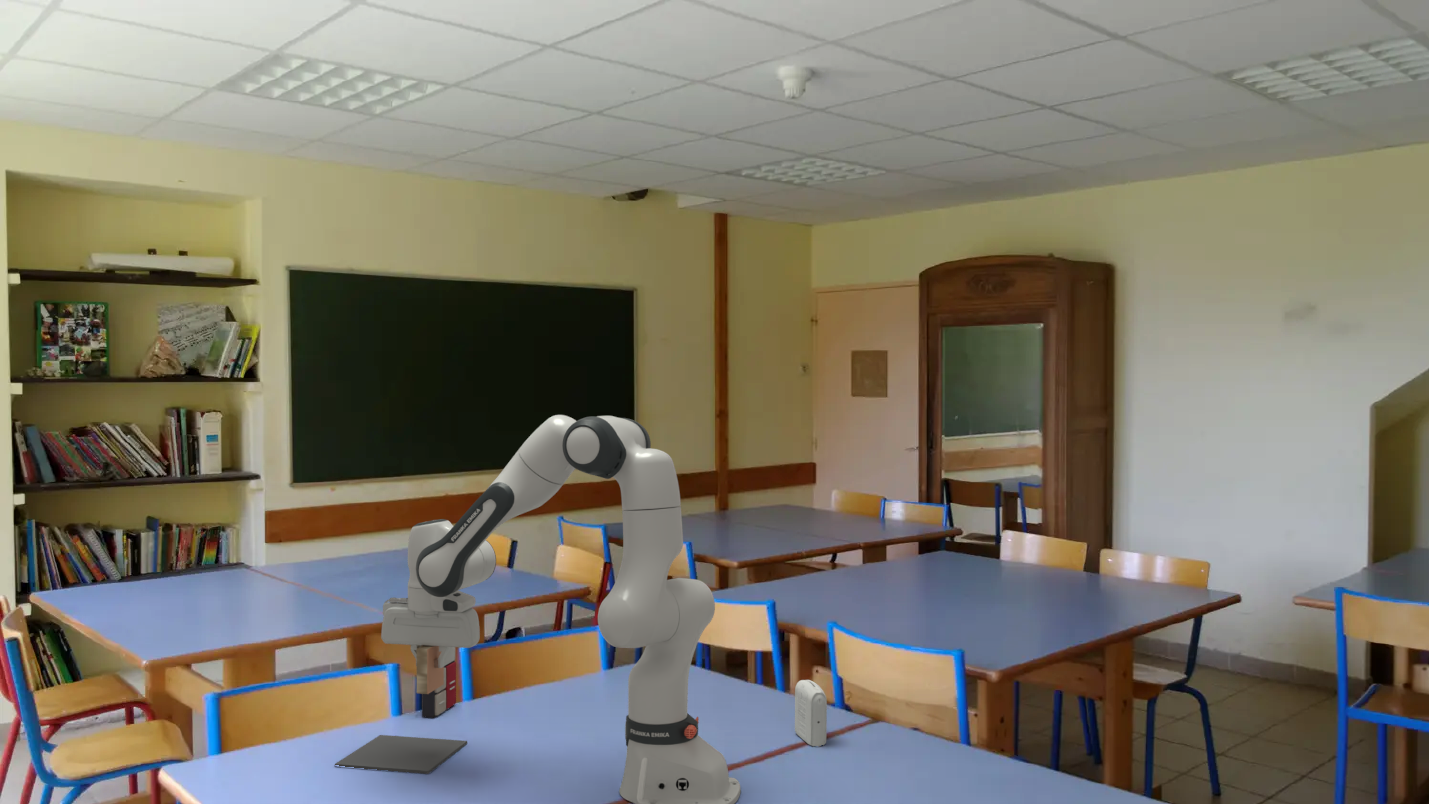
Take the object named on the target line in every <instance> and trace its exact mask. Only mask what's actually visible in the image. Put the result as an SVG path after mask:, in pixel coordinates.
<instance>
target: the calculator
mask: <svg viewBox="0 0 1429 804" xmlns="http://www.w3.org/2000/svg"><path fill="white" fill-rule="evenodd" d="M456 704H457V662H456V647H450V650H449V652H448V653H447V655H446V657H445V658H444V685H442V686H440V687H439V688H437V689H436V690H434V691H432V692H431V693H429V694H421V716H422V718H425V719H427V718H428V719H434V718H437V717H438V716H439V715H441V714H443V713H444V712H445V711H447V710H449V709H450V708H452V707H453V706H455V705H456ZM448 708H449V709H448Z"/></svg>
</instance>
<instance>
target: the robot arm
mask: <svg viewBox="0 0 1429 804" xmlns="http://www.w3.org/2000/svg"><path fill="white" fill-rule="evenodd" d="M529 435H530V436H528V438H527V439H526V440H525V441H524V442H523V443H522V445H521V446H520V447H519V448H518V450H517V451H516V452H515V454H514V455H513V456H512V457H511V459H510V460H509V462H508V463H507V464H506V465H505V467H504V468H503V469H502V470H501V472H499V474H498V476H497V477H496V478H495V479H494V480H493V481H492V482H491V484H490V485H489V486H488V487H487V489H485V491H484V492H483V493H482V494H481V495H480V496H479V497H478V498H477V499H476V500H475V501H474V502H473V503H472V505H471V506H470V507H469V508H468V509H467V510H466V511H465V513H463V515H462V516H461V517H460V518H459V520H458V521H456V523H455V524H454V525H453V524H452V522H451V521H449V520H448V519H445V518H441V519H433V520H428V521H423V522H418V523H416V524H414V525H413V526H412V528H411V529H410V533H409V537H408V543H407V568H408V570H409V577H408V578H409V579H408V581H407V597H399V598H398V597H390V598H388V599H387V600H385V601H384V603H383V605H382V616H383V619H382V624H381V631H380V632H381V635H380V638H381V640H382V642H383V643H384V644H386V645H389V644H391V645H407V646H410V651H411V654H412V655H413V657H414V658H415V667H416V668H417V648H419V647H421V646H423V645H424V646H439V652H441V651H442V652H441V654H440V656H439V657H438V658H436V659H434V668H442V667H444V658H445V657H446V655H447V653H448V652H449V650H450V647H455V648H464V649H465V648H466V649H470V648H473V647H474V646H476V645H478V643H479V641H480V637H481V636H480V635H481V633H480V632H481V631H480V630H481V629H480V621H479V615H478V613H477V611H476V609H474V608H473V607H475V606H476V597H475V596H473V595H472V594H468V593H466V592H463V591H461V590H463V589H466V588H469V587H472V586H474V585H478V584H481V583H482V582H484V581H486V580H488V579H490V578H491V577H492V575H493V574H494V572H495V569H496V566H497V556H496V552H495V549H494V547H493V546H492V544H491V543H490V542H489V541H488V540H487V539H488V538H489V537H490V536H491V535H492V533H493V532H494V531H495V530H497V528H499V527H500V526H501V525H504V523H506V522H507V521H509V520H511V519H514V518H516V517H517V516H519V515H523V514H525V513H527V512H528V513H529V512H530V511H533V510H535V509H538V508H539V507H542V506H543V505H544V504H545V503H547V502H548V501H549V500H550V499H551V498H553V496H555V495H556V493H558V492H559V490H560V489H561V488H562V486H563V485H564V484H565V482H566V481H568V479H569V478H570V477H571V475H572V473H573V472H574V471H575V470H577V471H579V472H581V473H584V474H587V475H590V476H595V477H599V478H602V479H606V480H609V479H611V478H613V479H615V480H616V482H617V484H618V485H619V488H620V497H621V509H622V510H621V513H622V533H623V534H622V537H623V539H622V540H623V541H622V542H623V545H622V546H623V547H622V548H623V549H622V558H621V563H620V568H619V570H618V572H617V573H618V574H617V577H616V579H615V581H614V585H613V586H612V588H611V590H610V591H609V593H608V594H607V596H605V598H604V599H603V600H602V602H601V603H600V605H599V608H598V612H597V613H598V614H597V625H598V628H599V631H600V632H599V633H600V634H601V636H602V637H603V639H604V640H605V641H606V642H607V643H608V644H609V645H610V646H612V647H615V648H622V649H623V648H625V649H626V648H627V649H640V648H643V647H645V648H644V650H643V652H642V654H641V656H640V658H639V660H638V661H637V662H636V663H635V665H634V666H633V667H632V668H631V670H630V671H629V675H628V680H627V681H628V682H627V685H628V689H627V690H628V691H627V692H628V693H627V695H628V698H627V699H628V702H627V703H628V705H627V706H628V707H627V708H628V711H627V712H628V713H627V714H626V716H625V722H624V723H625V726H624V737H625V745H626V756H625V757H626V758H625V765H624V771H623V776H622V779H621V780H622V781H621V784H620V787H619V791H618V792H619V795H620V796H621V797H622V798H623V799H624V800H627V801H629V802H631V803H633V804H736V802H737V801H738V800H739V798H740V796H741V791H742V790H741V789H742V788H741V784H740V782H739V780H738V779H737V778H735V777H731V776H730V774H729V770H728V764H727V760H726V758H725V756H724V755H723V753H722V752H721V751H719V750H717V749H716V748H715V747H714V746H713V745H711V744H710V743H708V742H707V741H706V740H705V739H703V738H702V737H701V736H700V735H699V723H700V722H699V721H700V720H699V716H697V717H695V718H694V717H693V716H692V715H691V714H689V713H688V702H689V700H688V698H689V697H688V695H689V677H690V675H689V674H690V670H691V664H692V660H693V657H694V654H695V651H696V648H697V645H698V643H699V640H700V637H701V636H702V634H703V632H704V630H705V629H706V628H707V627H708V625H709V624H710V623H711V622H712V620H713V618H714V616H715V610H716V603H715V602H716V601H715V597H714V595H713V592H712V590H711V589H710V587H709V586H708V585H707V584H706V583H705V582H704V581H702V580H700V579H695V578H685V577H677V578H671V579H668V576H669V572H670V569H671V566H672V565H673V563H674V561H675V559H676V558H677V557H678V556H679V555H680V554H681V552H682V549H683V546H684V534H683V518H682V506H681V505H682V504H681V493H680V485H679V480H678V476H677V475H678V474H677V471H676V467H675V464H674V461H673V458H672V457H671V456H670V455H669V453H667V452H665V451H663V450H660V449H658V448H652V446H651V445H652V444H651V437H650V434H649V432H648V430H647V429H646V427H644V426H643V425H642V424H640V422H638V421H636V420H633V419H630V418H626V417H617V416H613V415H597V416H586V417H583V418H580V419H578V420H576V419H574V418H572V417H570V416H568V415H565V414H555V415H552V416H551V417H548V418H547V419H546V420H545V421H544V422H543V423H541V424H540V425H539V426H538V427H537V428H536V429H535V430H534V431H533V432H532V433H531V434H529Z"/></svg>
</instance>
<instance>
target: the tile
mask: <svg viewBox="0 0 1429 804" xmlns="http://www.w3.org/2000/svg"><path fill="white" fill-rule="evenodd" d="M441 652H442V651H441ZM441 652H439V646H424V645H422V646H421V647H419V648H417V667H416V694H420V695H422V694H429V693H431V692H432V691H434V690H436V689H437V688H439V687H440V686H442V685H444V667H442V668H434V659H436V658H438V657H439V656H440V654H441Z"/></svg>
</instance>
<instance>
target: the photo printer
mask: <svg viewBox="0 0 1429 804" xmlns="http://www.w3.org/2000/svg"><path fill="white" fill-rule="evenodd" d="M827 700H828V699H827V696H826V694H825V691H824V690H823V689H822V687H821V686H820V685H819V684H817V683H816V682H814V681H812V680H810V679H801V680H799V681H798V682H796V685H795V687H794V733H795V734H796V735H797V736H798V737H800V739H801V740H803V741H804V742H805V743H806V744H808V745H809V746H812V747H814V746H818V747H822V746H821V745H823V746H825V744H827V732H828V730H827V720H828V719H827V718H828V717H827V714H828V713H827V710H828V706H827V704H828V703H827V702H828V701H827Z"/></svg>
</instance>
